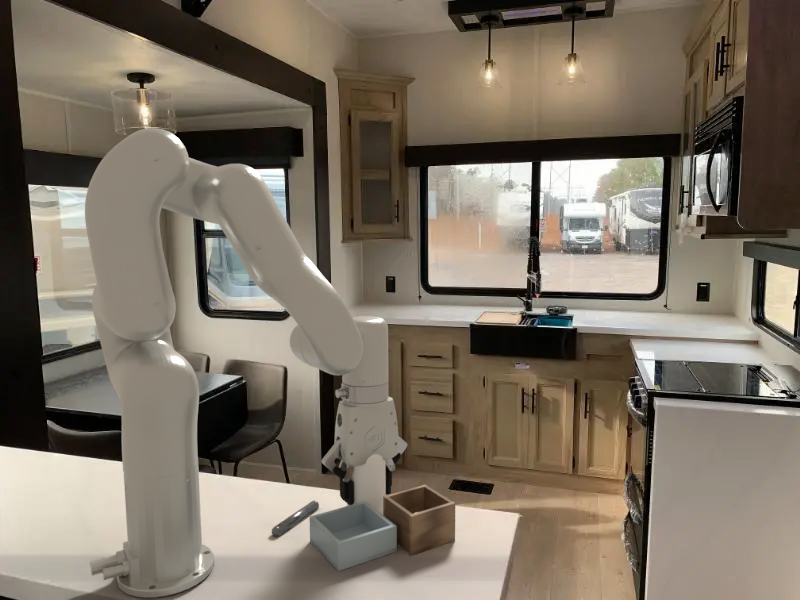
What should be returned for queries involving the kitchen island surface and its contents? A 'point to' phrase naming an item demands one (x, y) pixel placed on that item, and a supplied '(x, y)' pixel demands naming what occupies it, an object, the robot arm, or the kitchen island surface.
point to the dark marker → (294, 518)
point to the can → (370, 482)
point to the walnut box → (420, 518)
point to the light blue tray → (352, 535)
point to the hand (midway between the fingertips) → (366, 495)
